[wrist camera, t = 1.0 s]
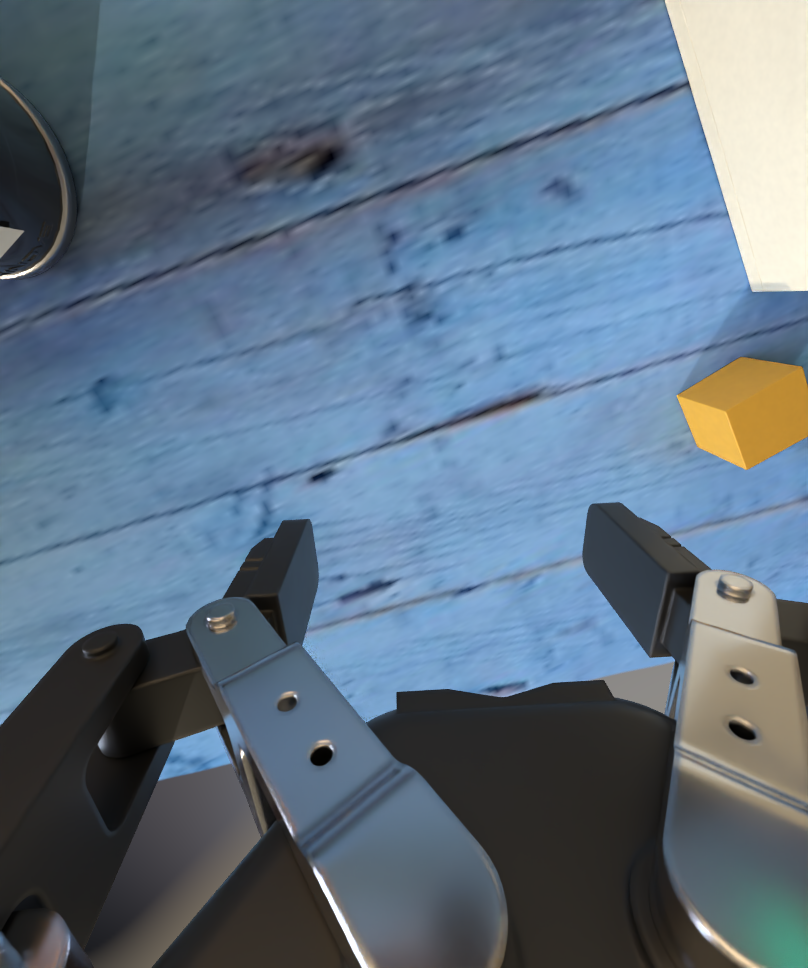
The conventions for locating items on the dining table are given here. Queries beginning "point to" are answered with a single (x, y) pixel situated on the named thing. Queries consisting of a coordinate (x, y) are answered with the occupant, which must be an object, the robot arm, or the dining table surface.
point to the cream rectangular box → (754, 124)
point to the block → (748, 410)
